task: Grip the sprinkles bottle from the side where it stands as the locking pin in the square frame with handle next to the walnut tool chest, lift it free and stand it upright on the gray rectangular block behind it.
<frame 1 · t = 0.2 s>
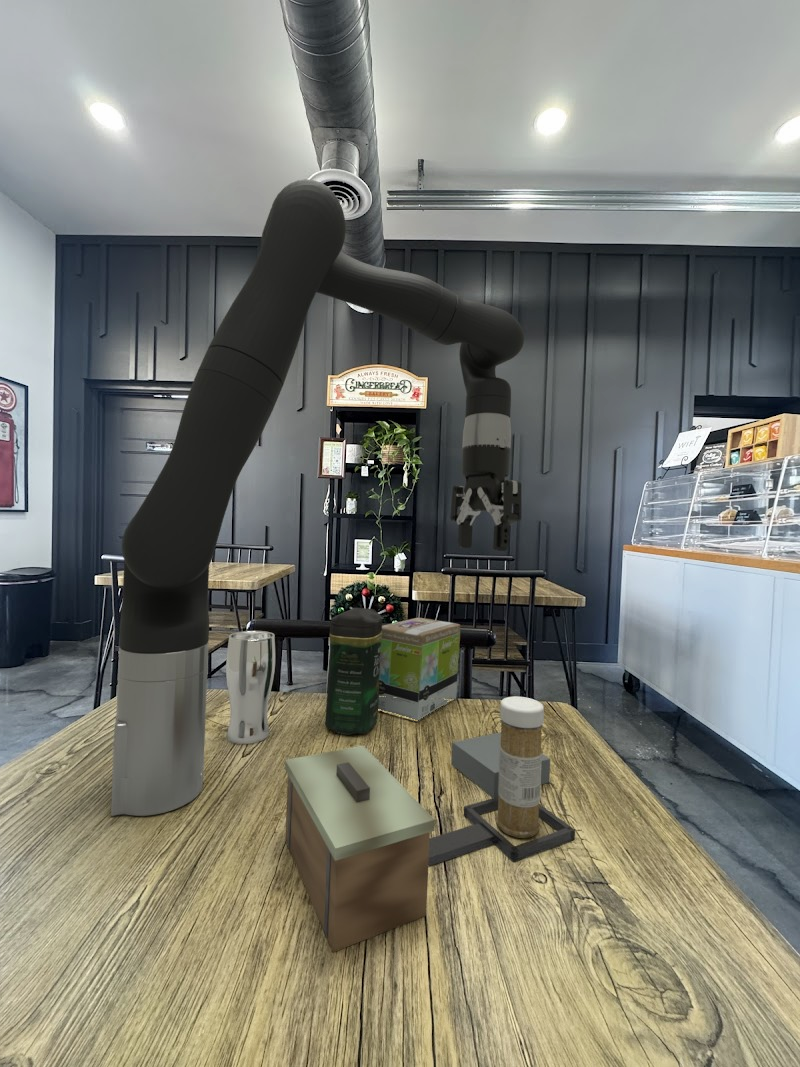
hand: (481, 549, 75), 29 cm above the table, tool pointing down, fingers open, 8 cm apart
tea box: (415, 705, 86), on the table
toolbox: (348, 873, 43), on the table
gray rectangular block: (498, 773, 62), on the table
square frame with handle: (517, 826, 51), on the table
sprinkles bottle: (517, 829, 51), resting in square frame with handle
beer glass: (248, 736, 71), on the table
coffee jar: (352, 725, 76), on the table
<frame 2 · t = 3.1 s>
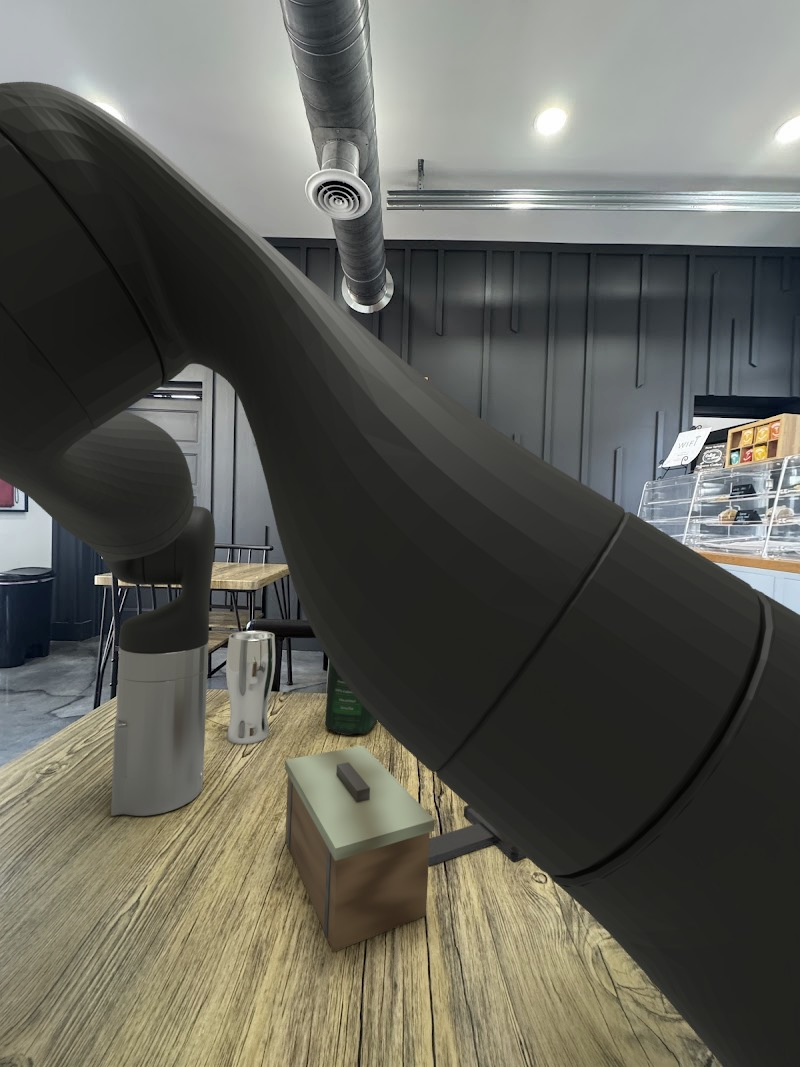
hand: (556, 646, 40), 22 cm above the table, tool horizontal, fingers open, 8 cm apart
nothing on the table moved.
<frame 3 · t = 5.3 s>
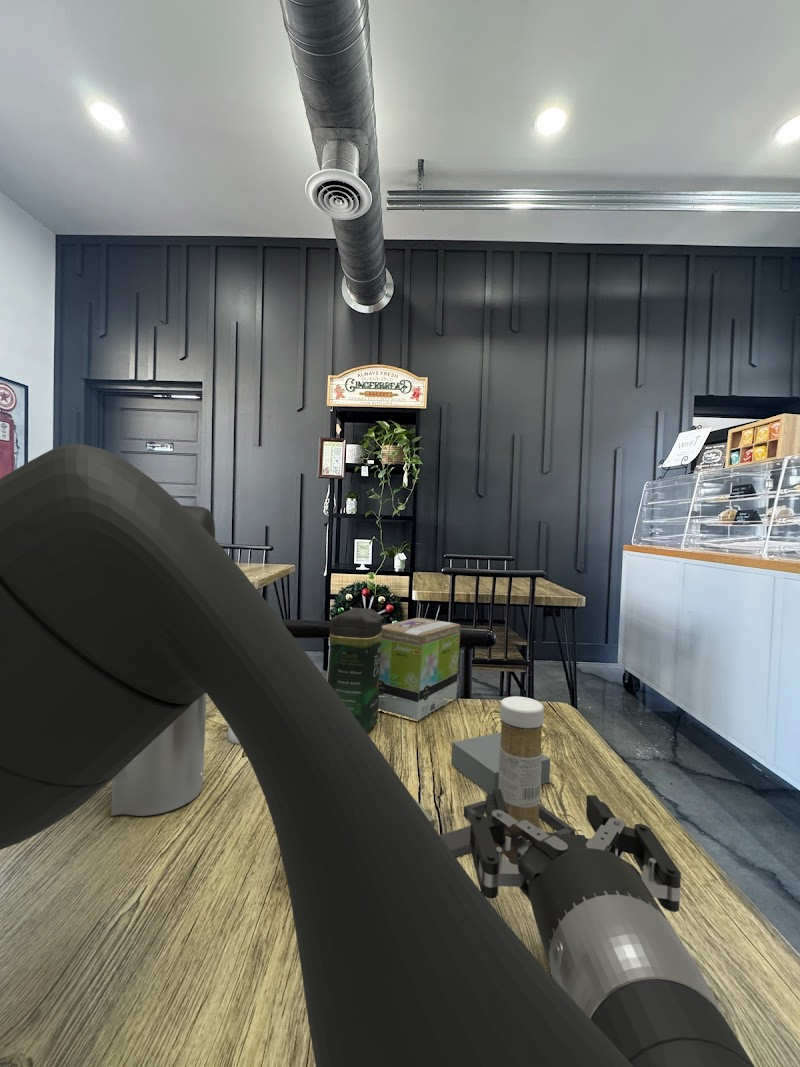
hand: (542, 801, 43), 7 cm above the table, tool horizontal, fingers open, 8 cm apart
nothing on the table moved.
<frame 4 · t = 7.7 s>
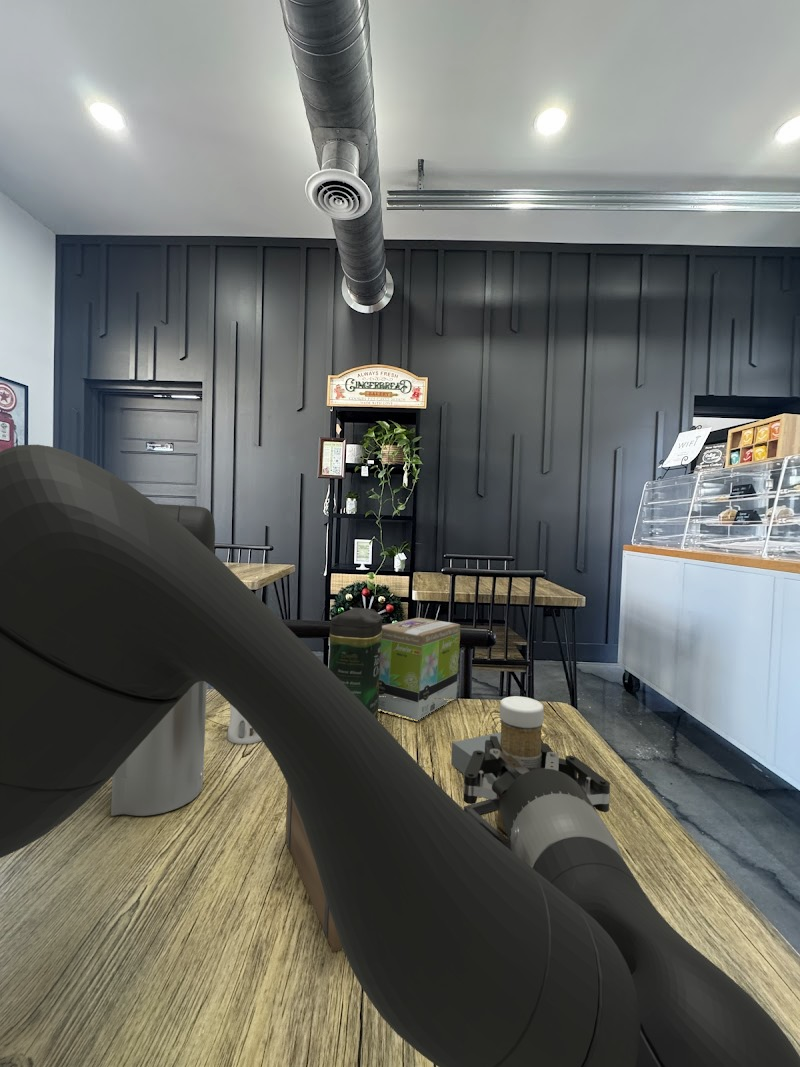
hand: (515, 745, 54), 8 cm above the table, tool horizontal, fingers closed on sprinkles bottle, 4 cm apart
sprinkles bottle: (517, 828, 51), resting in square frame with handle, touching gripper
everything else where it was.
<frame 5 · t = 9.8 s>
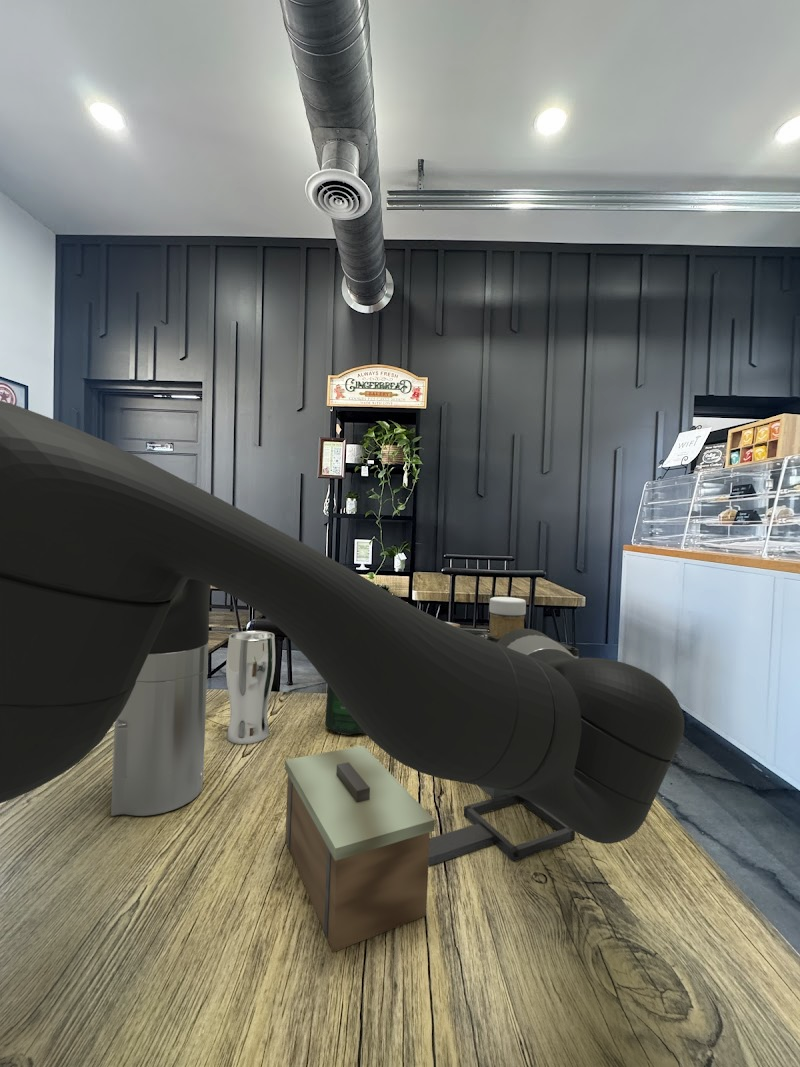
hand: (502, 640, 63), 17 cm above the table, tool horizontal, fingers closed on sprinkles bottle, 4 cm apart
sprinkles bottle: (503, 705, 60), point 10 cm above the table, touching gripper
everything else where it was.
when the fingers open (12 cm above the table, at t = 11.8 s): sprinkles bottle drops 1 cm, resting on gray rectangular block.
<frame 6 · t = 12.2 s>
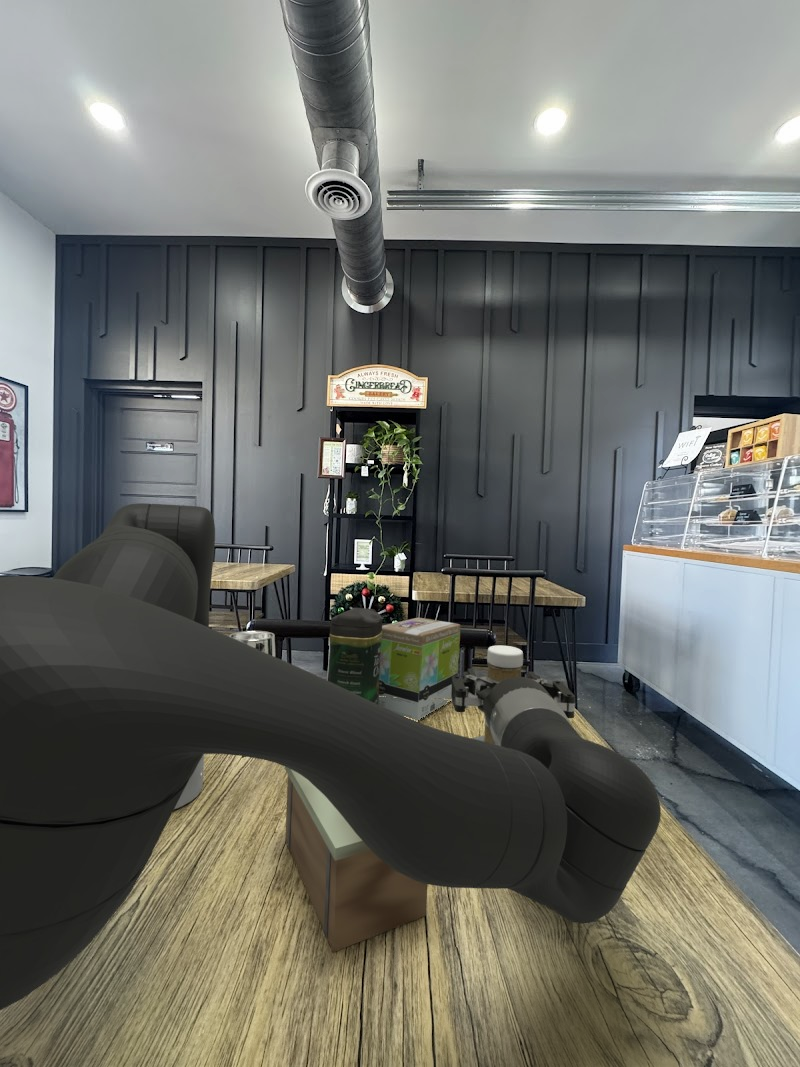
hand: (499, 677, 64), 12 cm above the table, tool horizontal, fingers open, 7 cm apart
sprinkles bottle: (499, 751, 62), point 3 cm above the table, touching gray rectangular block
everything else where it was.
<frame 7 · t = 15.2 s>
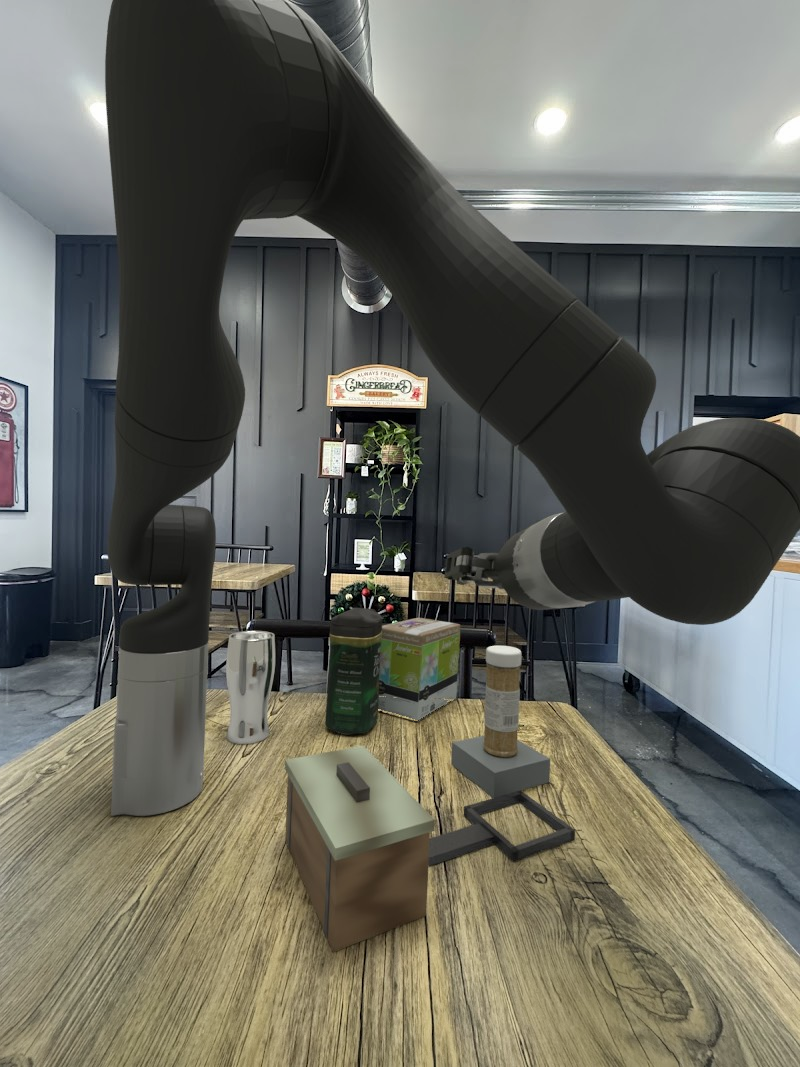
hand: (495, 581, 55), 26 cm above the table, tool horizontal, fingers open, 8 cm apart
nothing on the table moved.
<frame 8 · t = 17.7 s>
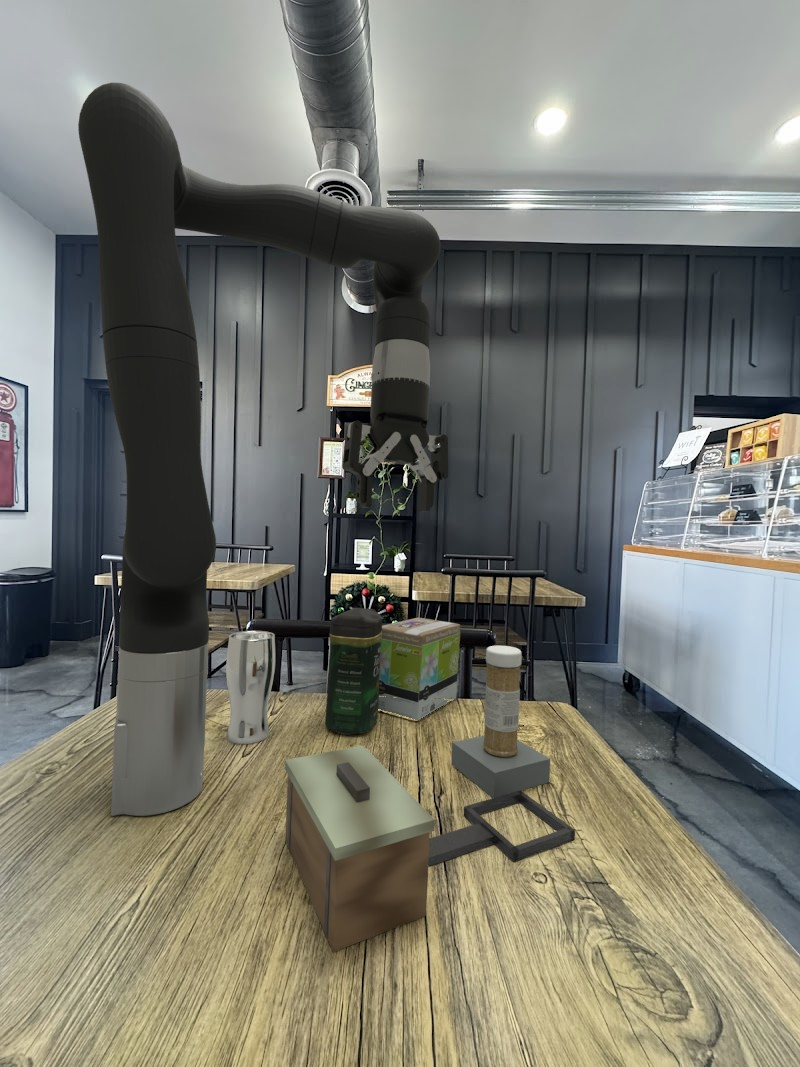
hand: (395, 509, 61), 34 cm above the table, tool pointing down, fingers open, 8 cm apart
nothing on the table moved.
at the end: sprinkles bottle inside the target area on the gray rectangular block (0.1 cm from its centre), point 2.8 cm above the gray rectangular block's base; sprinkles bottle tilted 0°; the gripper is holding nothing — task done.
